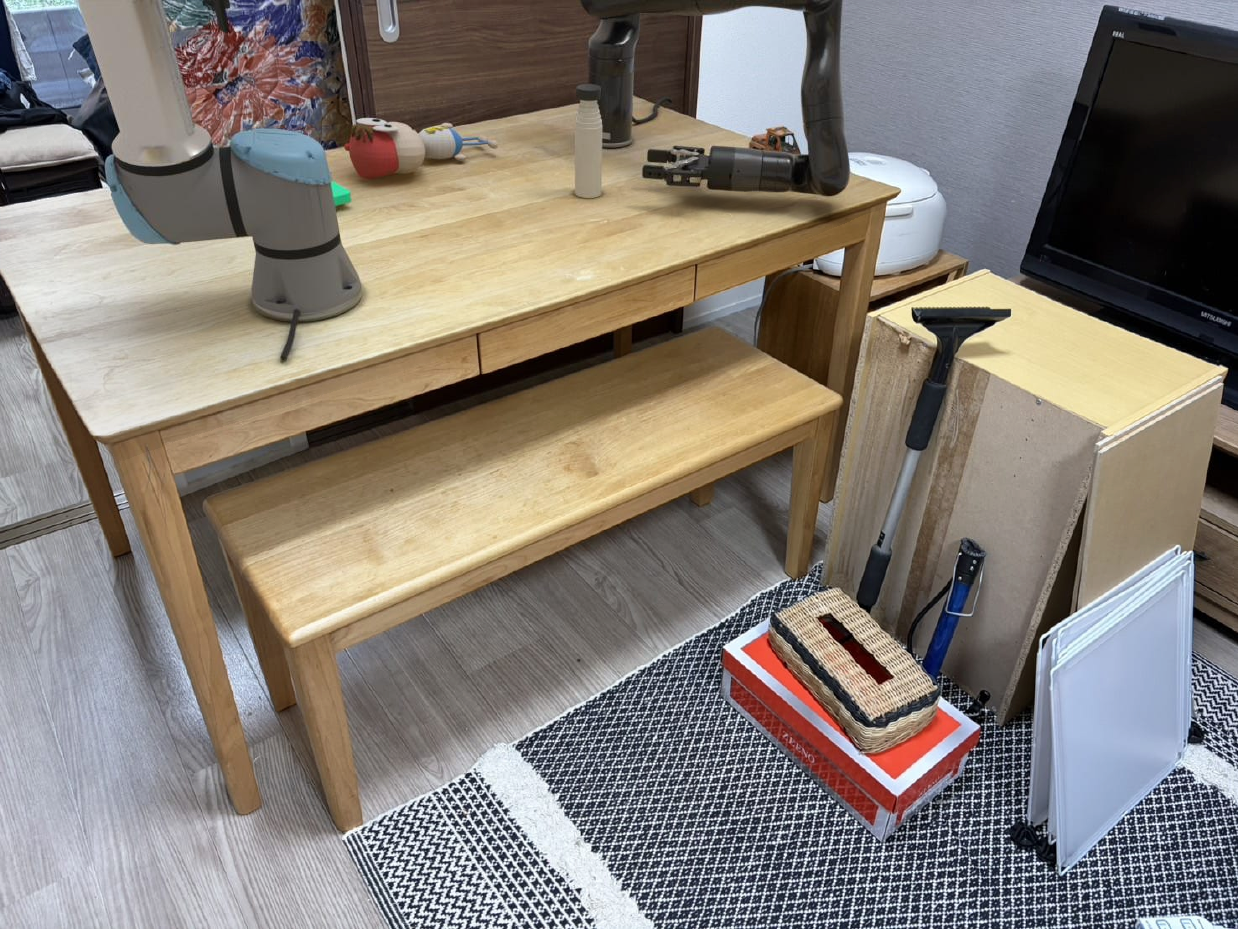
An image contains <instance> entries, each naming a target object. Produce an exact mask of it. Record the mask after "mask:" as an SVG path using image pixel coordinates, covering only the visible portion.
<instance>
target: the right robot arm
mask: <svg viewBox="0 0 1238 929" xmlns="http://www.w3.org/2000/svg"><path fill="white" fill-rule="evenodd" d="M843 1H844V0H579V3H580V6H581V7H582V9H583V10H584V11H585V12H586V13H587V14H588V15H589V16H591V17H592V18H594V19H597V20H600V24H599V26H598V27H597V29H596V31H595V32H594V33H593V35H592V36H590V37H589V39H588V48H587V50H588V54H587V57H588V58H587V61H588V62H587V66H588V67H587V68H588V70H587V76H588V77H587V79H588V80H587V84H595V85H598V86H600V87H601V98H600V99H599V100H597V105H598V109H599V111H600V115H601V119H602V148H605V149H606V148H609V149H613V148H614V149H615V148H622V147H627V146H629V145H630V144H632V142H633V135H632V134H633V124H637V125H641V124H645V123H648V122H649V121H650V120H653V119H654V118H655V117H657V115H658V113H659V110H658V107H659V106H660V105H661V104H663V103H664V102H668V103H671V104H673V103H674V101H673V99H672V97H669V96H664V97H662V98H661V99H659V100H658V101H657V102H656V103H654V104H653V113H651V114H649V115H648V116H646V117H645V118H641V119H637V118H635V117H634V116H633V112H634V111H633V108H634V107H633V106H634V78H635V77H634V75H635V74H634V72H635V67H634V66H635V50H636V49H635V48H636V45H637V42H638V40H639V38H640V37H639V36H640V29H641V15H642V14H645V15H660V16H686V17H687V16H689V17H698V16H713V15H714V16H715V15H721V14H727V13H730V12H733V11H737V10H740V9H744V8H751V7H760V8H774V9H784V10H789V11H795V12H802V15H803V20H804V26H805V33H806V50H805V51H806V52H805V60H804V64H803V65H804V66H803V70H802V75H801V76H802V77H801V83H800V107H801V108H800V110H801V118H802V119H801V120H802V127H803V128H802V129H803V133H804V134H803V135H804V137H805V139H806V144H807V154H806V153H805V154H802V153H801V154H791V153H787V152H779V151H765V150H763V151H762V150H757V149H752V148H749V147H742V146H741V147H740V146H723V145H712V146H711V147H710V149H709V155H707V154H706V148H704V147H695V146H684V145H673V146H672V148H668V149H655V148H649V149H647V152H646V161H647V162H648V163H656V165H655V164H643V166H642V170H641V172H642V174H641V175H642V176H641V177H642V178H643V179H647V180H648V179H649V180H650V179H651V180H663V182H666V184H665V185H666V186H668V187H686V188H687V187H688V188H690V187H691V188H700V187H701V182H702V181H704V180H706V181H707V182H706V188H707V189H708V190H712V191H723V192H724V191H725V192H739V193H740V192H741V193H750V192H763V193H777V194H778V193H788V192H790V193H797V194H800V193H801V194H809V195H816V196H822V197H828V198H829V197H835V196H837V195H839V194H841V193H842V192H844V191H845V189H846V188H847V187H848V185H849V182H850V179H851V165H850V156H849V151H848V146H847V145H848V144H847V139H846V135H845V117H844V116H845V115H844V103H843V102H844V101H843V91H842V90H843V88H842V77H841V76H842V72H841V42H842V41H841V39H842V38H841V37H842V15H843V4H844V3H843ZM657 164H669V165H657Z"/></svg>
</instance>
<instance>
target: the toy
mask: <svg viewBox="0 0 1238 929" xmlns="http://www.w3.org/2000/svg"><path fill="white" fill-rule="evenodd" d="M355 122H356V123H354V124H353V125H352V126H351V130H350V131H351V135H350V138H349V141H348V143H345V144H344V145H343V148H344V150H345V151H346V152H348V153H349V154H348V155H349V158H350V161H351V164H352V166H353V168H354V169H355V172H356V174H357V175H358V176H359V177H360V178H362V179H366V180H373V179H378V178H381V177H385V176H388V175H391V174H394V173H395V174H400V175H401V174H403V175H404V174H409V173H412V172H415V171H417V170H418V169H419V168H420V167H421V166H422V165H423V163H424V160H425V158H428V159H432V160H446V159H450V158H453V157H454V159H455V160H457V161H464V160H466V159H467V157H466V155H465V154H462V153H461V151H462V149H463V147H465V146H466V147H467V146H468V147H469V146H470V147H471V146H482V145H483V146H484V145H487V146H488V147H489V148H490V149H493V150H495V149H498V147H499V143H498V142H497V140H494V139H488V138H487V137H486V136H485V135H483V134H478V135H477V136H474V137H473V136H472V137H462V136H461V135H460V134H459V133H458V132H457V131H456V130H454V129H453V124H452V123H450V122H443V123H442V124H438V125H434V126H433V125H432V126H429V127H426V128H423V129H422V130H420V131H419V132H417V131H416V129H414V127H413V126H411V125H409V124H406V123H403V122H400V121H399V120H397V121H388V122H387V120H384V119H382V118H374V117H362V118H358V119H356V121H355ZM475 140H477V142H468V141H475Z"/></svg>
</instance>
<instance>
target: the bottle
mask: <svg viewBox="0 0 1238 929" xmlns="http://www.w3.org/2000/svg"><path fill="white" fill-rule="evenodd" d="M575 117H576V118H575V120H574V194H575V195H576V196H577V197H578V198H579V197H580V198H583V199H593V198H598V197H600V196H601V195H602V187H603V186H602V183H603V181H602V180H603V179H602V177H603V174H602V173H603V168H602V167H603V147H602V119H601V115H600V111H599V109H598V105H597V100H595V101H584V100H580V99H579V104H578V109H577V113H576V116H575Z"/></svg>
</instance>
